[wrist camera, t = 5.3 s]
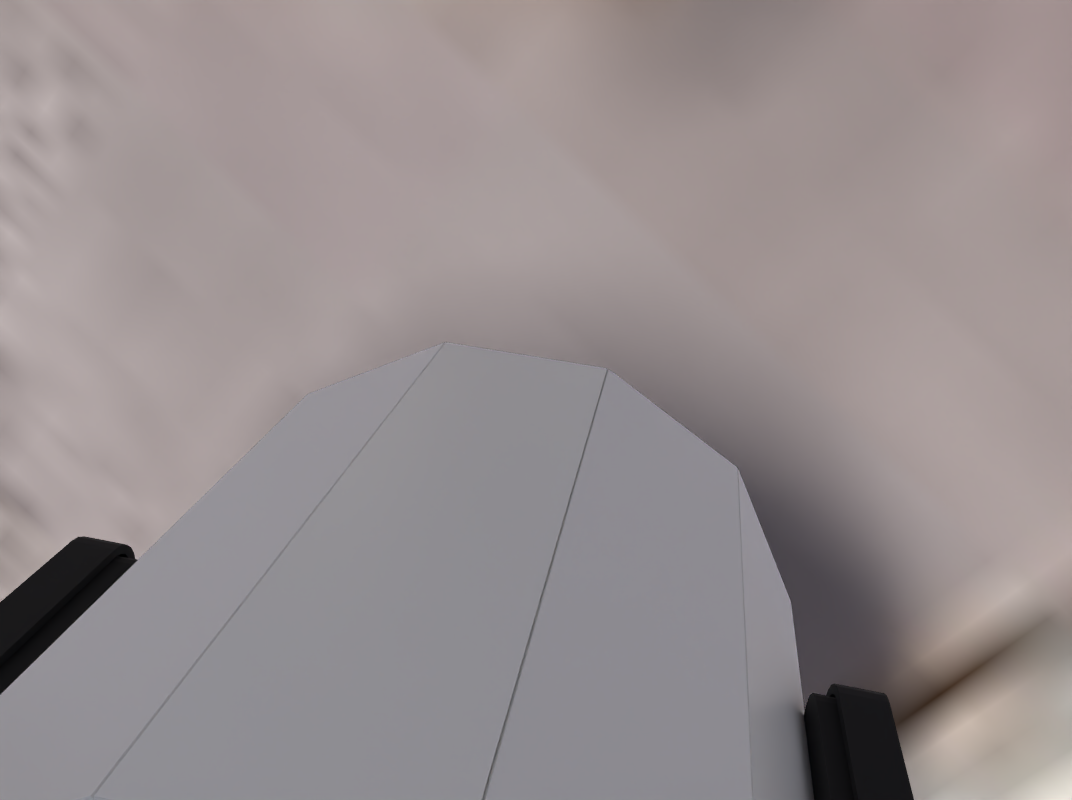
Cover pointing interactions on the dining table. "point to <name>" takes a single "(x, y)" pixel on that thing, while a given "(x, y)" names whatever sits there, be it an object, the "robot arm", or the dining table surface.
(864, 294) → the dining table surface
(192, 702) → the elbow
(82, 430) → the dining table surface
